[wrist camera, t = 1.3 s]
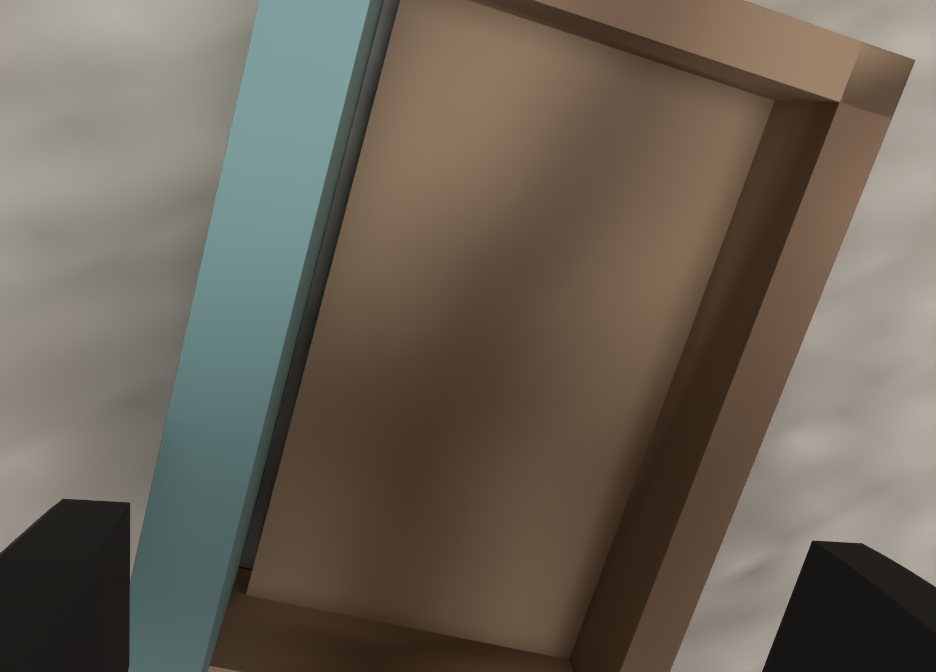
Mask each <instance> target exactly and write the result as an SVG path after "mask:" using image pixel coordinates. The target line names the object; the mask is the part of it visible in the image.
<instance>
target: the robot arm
mask: <svg viewBox="0 0 936 672" xmlns="http://www.w3.org/2000/svg"><path fill="white" fill-rule="evenodd" d="M129 653H130V503H127V502H109V501H91V500H74V499H62V500H61V501H60V502H58V503H57V504H56V505H54V506H53V507H52V508H50V509H49V510H48V511H47V512H46V513H45V514H44V515H42V516H41V517H40V518H39V519H38V520H37V521H36V522H34V523H33V524H32V525H31V526H30V527H29V528H28V529H27V530H26V531H24V532H23V533H22V534H21V535H20V536H19V537H18V538H17V539H15V540H14V541H13V542H12V543H11V544H10V545H9V546H8V547H7V548H5V549H4V550H3V551H2V552H1V553H0V672H128V669H129ZM762 672H936V587H935V586H933V585H931V584H930V583H928V582H927V581H925V580H924V579H922V578H920V577H919V576H917V575H916V574H914V573H913V572H911V571H909V570H908V569H906V568H904V567H903V566H901V565H899V564H898V563H896V562H894V561H893V560H891V559H889V558H888V557H886V556H884V555H882V554H881V553H879V552H877V551H875V550H873V549H871V548H870V547H868V546H866V545H864V544H862V543H844V542H826V541H812V543H811V546H810V548H809V551H808V553H807V556H806V559H805V561H804V564H803V566H802V569H801V572H800V574H799V577H798V579H797V582H796V585H795V587H794V590H793V593H792V595H791V598H790V600H789V603H788V606H787V608H786V611H785V613H784V616H783V619H782V621H781V624H780V626H779V629H778V632H777V634H776V637H775V639H774V642H773V645H772V647H771V650H770V653H769V655H768V658H767V660H766V663H765V666H764V668H763V671H762Z"/></svg>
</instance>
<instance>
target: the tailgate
mask: <svg viewBox="0 0 936 672" xmlns="http://www.w3.org/2000/svg"><path fill="white" fill-rule="evenodd" d="M382 5H383V0H259V3H258V8H257V12H256V17H255V22H254V26H253V31H252V35H251V40H250V44H249V49H248V53H247V58H246V62H245V67H244V71H243V76H242V80H241V85H240V89H239V94H238V98H237V103H236V107H235V112H234V116H233V121H232V125H231V130H230V134H229V139H228V143H227V148H226V152H225V157H224V161H223V166H222V170H221V175H220V179H219V184H218V188H217V193H216V197H215V202H214V206H213V211H212V215H211V220H210V224H209V229H208V233H207V238H206V242H205V247H204V251H203V256H202V260H201V265H200V269H199V274H198V278H197V283H196V288H195V292H194V297H193V301H192V306H191V310H190V315H189V319H188V324H187V328H186V333H185V337H184V342H183V346H182V351H181V355H180V360H179V364H178V369H177V373H176V378H175V382H174V387H173V391H172V396H171V400H170V405H169V409H168V414H167V418H166V423H165V427H164V432H163V436H162V441H161V445H160V450H159V454H158V459H157V463H156V468H155V472H154V477H153V481H152V486H151V490H150V495H149V499H148V504H147V508H146V513H145V517H144V522H143V526H142V531H141V535H140V540H139V544H138V549H137V554H136V558H135V563H134V567H133V572H132V576H131V581H130V653H129V669H128V672H208V669H209V666H210V662H211V659H212V656H213V652H214V649H215V646H216V642H217V639H218V635H219V632H220V629H221V625H222V622H223V619H224V615H225V612H226V609H227V605H228V602H229V599H230V595H231V592H232V589H233V585H234V582H235V578H236V575H237V572H238V568H239V565H240V562H241V558H242V555H243V551H244V547H245V543H246V539H247V535H248V531H249V527H250V523H251V519H252V515H253V511H254V508H255V504H256V500H257V496H258V492H259V488H260V484H261V480H262V476H263V472H264V468H265V464H266V460H267V456H268V453H269V449H270V445H271V441H272V437H273V433H274V429H275V425H276V421H277V417H278V413H279V409H280V405H281V402H282V398H283V394H284V390H285V386H286V382H287V378H288V374H289V370H290V366H291V362H292V358H293V354H294V350H295V347H296V343H297V339H298V335H299V331H300V327H301V323H302V319H303V315H304V311H305V307H306V303H307V299H308V296H309V292H310V288H311V284H312V280H313V276H314V272H315V268H316V264H317V260H318V256H319V252H320V248H321V244H322V241H323V237H324V233H325V229H326V225H327V221H328V217H329V213H330V209H331V205H332V201H333V197H334V193H335V190H336V186H337V182H338V178H339V174H340V170H341V166H342V162H343V158H344V154H345V150H346V146H347V142H348V138H349V135H350V131H351V127H352V123H353V119H354V115H355V111H356V107H357V103H358V99H359V95H360V91H361V87H362V84H363V80H364V76H365V72H366V68H367V64H368V60H369V56H370V52H371V48H372V44H373V40H374V36H375V32H376V29H377V25H378V21H379V17H380V13H381V9H382Z"/></svg>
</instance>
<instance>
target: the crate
mask: <svg viewBox="0 0 936 672" xmlns="http://www.w3.org/2000/svg"><path fill="white" fill-rule="evenodd" d="M914 62H915V60H913V59H910V58H907V57H904V56H902V55H899V54H896V53H893V52H890V51H887V50H884V49H881V48H878V47H876V46H873V45H870V44H867V43H864V42H861V41H858V40H855V39H853V38H850V37H847V36H844V35H841V34H838V33H835V32H832V31H830V30H827V29H824V28H821V27H818V26H815V25H812V24H809V23H807V22H804V21H801V20H798V19H795V18H792V17H789V16H786V15H784V14H781V13H778V12H775V11H772V10H769V9H766V8H763V7H760V6H758V5H755V4H752V3H749V2H746V1H743V0H400V2H399V6H398V10H397V14H396V18H395V21H394V25H393V29H392V33H391V37H390V41H389V45H388V48H387V52H386V56H385V60H384V64H383V68H382V72H381V75H380V79H379V83H378V87H377V91H376V95H375V99H374V102H373V106H372V110H371V114H370V118H369V122H368V126H367V129H366V133H365V137H364V141H363V145H362V149H361V153H360V157H359V160H358V164H357V168H356V172H355V176H354V180H353V184H352V187H351V191H350V195H349V199H348V203H347V207H346V211H345V214H344V218H343V222H342V226H341V230H340V234H339V238H338V241H337V245H336V249H335V253H334V257H333V261H332V265H331V268H330V272H329V276H328V280H327V284H326V288H325V292H324V296H323V299H322V303H321V307H320V311H319V315H318V319H317V323H316V326H315V330H314V334H313V338H312V342H311V346H310V350H309V353H308V357H307V361H306V365H305V369H304V373H303V377H302V380H301V384H300V388H299V392H298V396H297V400H296V404H295V407H294V411H293V415H292V419H291V423H290V427H289V431H288V434H287V438H286V442H285V446H284V450H283V454H282V458H281V462H280V465H279V469H278V473H277V477H276V481H275V485H274V489H273V492H272V496H271V500H270V504H269V508H268V512H267V516H266V519H265V523H264V527H263V531H262V535H261V539H260V543H259V546H258V550H257V554H256V558H255V562H254V566H253V570H252V571H251V570H246V569H241V568H238V572H237V575H236V578H235V582H234V585H233V589H232V592H231V595H230V599H229V602H228V605H227V609H226V612H225V615H224V619H223V622H222V625H221V629H220V632H219V635H218V639H217V642H216V646H215V649H214V652H213V656H212V659H211V662H210V666H209V669H208V672H670V670H671V667H672V665H673V662H674V660H675V657H676V655H677V652H678V650H679V647H680V645H681V642H682V640H683V637H684V635H685V633H686V630H687V628H688V625H689V623H690V620H691V618H692V615H693V613H694V610H695V608H696V605H697V603H698V600H699V598H700V595H701V593H702V590H703V588H704V585H705V583H706V580H707V578H708V575H709V573H710V570H711V568H712V565H713V563H714V560H715V558H716V555H717V553H718V550H719V548H720V545H721V543H722V540H723V538H724V535H725V533H726V530H727V528H728V525H729V523H730V520H731V518H732V515H733V513H734V511H735V508H736V506H737V503H738V501H739V498H740V496H741V493H742V491H743V488H744V486H745V483H746V481H747V478H748V476H749V473H750V471H751V468H752V466H753V463H754V461H755V458H756V456H757V453H758V451H759V448H760V446H761V443H762V441H763V438H764V436H765V433H766V431H767V428H768V426H769V423H770V421H771V418H772V416H773V413H774V411H775V408H776V406H777V403H778V401H779V398H780V396H781V393H782V391H783V388H784V386H785V384H786V381H787V379H788V376H789V374H790V371H791V369H792V366H793V364H794V361H795V359H796V356H797V354H798V351H799V349H800V346H801V344H802V341H803V339H804V336H805V334H806V331H807V329H808V326H809V324H810V321H811V319H812V316H813V314H814V311H815V309H816V306H817V304H818V301H819V299H820V296H821V294H822V291H823V289H824V286H825V284H826V281H827V279H828V276H829V274H830V271H831V269H832V266H833V264H834V262H835V259H836V257H837V254H838V252H839V249H840V247H841V244H842V242H843V239H844V237H845V234H846V232H847V229H848V227H849V224H850V222H851V219H852V217H853V214H854V212H855V209H856V207H857V204H858V202H859V199H860V197H861V194H862V192H863V189H864V187H865V184H866V182H867V179H868V177H869V174H870V172H871V169H872V167H873V164H874V162H875V159H876V157H877V154H878V152H879V149H880V147H881V144H882V142H883V139H884V137H885V135H886V132H887V130H888V127H889V125H890V122H891V120H892V117H893V115H894V112H895V110H896V107H897V105H898V102H899V100H900V97H901V95H902V92H903V90H904V87H905V85H906V82H907V80H908V77H909V75H910V72H911V70H912V67H913V65H914Z"/></svg>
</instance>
